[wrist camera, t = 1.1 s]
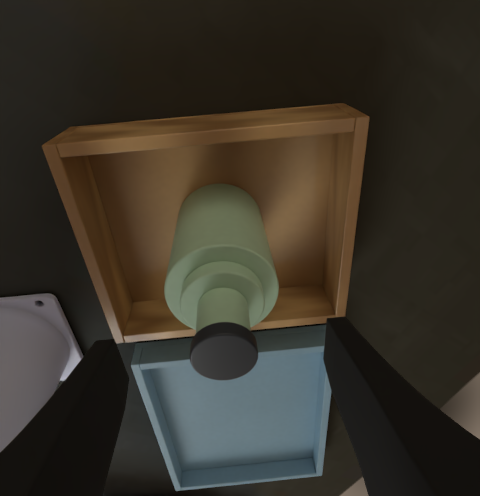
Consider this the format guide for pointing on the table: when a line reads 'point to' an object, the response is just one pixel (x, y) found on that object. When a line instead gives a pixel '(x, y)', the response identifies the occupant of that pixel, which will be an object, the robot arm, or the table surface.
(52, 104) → the table surface
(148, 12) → the table surface
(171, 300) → the bottle
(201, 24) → the table surface
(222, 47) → the table surface
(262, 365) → the tray
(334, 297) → the tray
